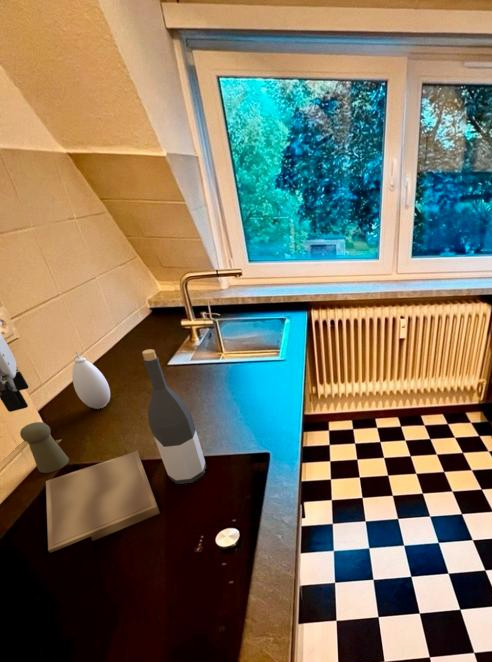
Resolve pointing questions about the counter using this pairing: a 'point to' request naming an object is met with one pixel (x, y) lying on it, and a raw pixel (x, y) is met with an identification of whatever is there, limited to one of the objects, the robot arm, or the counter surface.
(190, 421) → the wine bottle
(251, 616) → the counter surface
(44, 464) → the pepper mill
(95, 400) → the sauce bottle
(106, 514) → the cutting board
